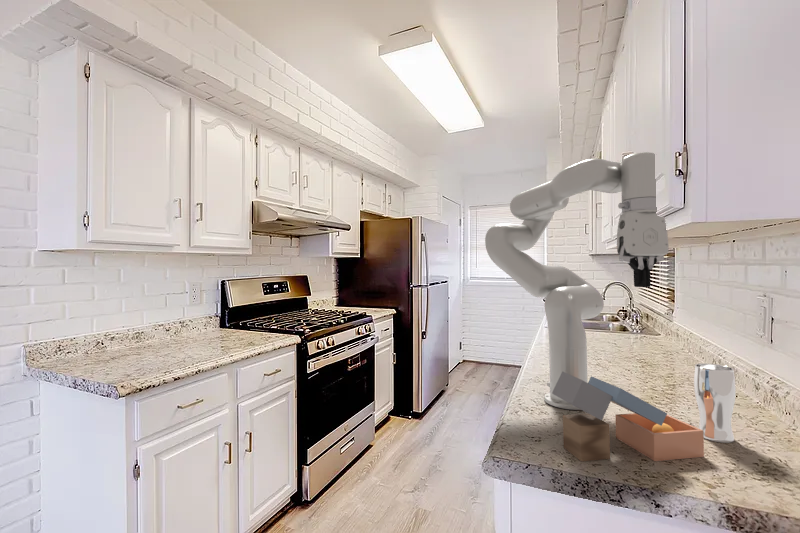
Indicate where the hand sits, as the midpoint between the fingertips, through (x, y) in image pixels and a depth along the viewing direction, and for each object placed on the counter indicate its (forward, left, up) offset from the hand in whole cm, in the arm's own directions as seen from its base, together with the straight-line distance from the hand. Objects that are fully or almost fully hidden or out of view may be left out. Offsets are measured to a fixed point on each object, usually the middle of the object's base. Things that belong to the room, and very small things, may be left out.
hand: (642, 286), depth 91 cm
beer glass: (+8, +10, -32) cm, 35 cm away
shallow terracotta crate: (+10, -6, -32) cm, 34 cm away
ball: (+10, -4, -30) cm, 31 cm away
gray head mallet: (+7, -18, -26) cm, 32 cm away
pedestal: (+10, -22, -32) cm, 40 cm away
